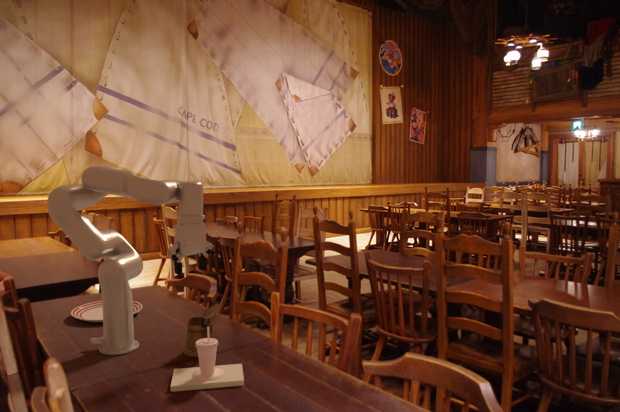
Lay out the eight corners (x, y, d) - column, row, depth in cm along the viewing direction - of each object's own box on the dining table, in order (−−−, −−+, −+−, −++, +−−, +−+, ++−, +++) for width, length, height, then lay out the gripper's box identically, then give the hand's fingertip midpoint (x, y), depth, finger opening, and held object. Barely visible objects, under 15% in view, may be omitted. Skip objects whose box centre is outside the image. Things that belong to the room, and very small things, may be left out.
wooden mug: (207, 362, 159) (206, 306, 158) (178, 353, 167) (177, 299, 165) (227, 353, 166) (226, 299, 165) (199, 345, 174) (197, 293, 173)
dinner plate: (156, 312, 214) (156, 304, 214) (100, 330, 191) (99, 322, 191) (114, 303, 228) (113, 296, 228) (56, 319, 205) (56, 311, 205)
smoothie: (213, 379, 143) (212, 331, 141) (192, 377, 144) (191, 330, 142) (222, 370, 149) (221, 323, 148) (201, 368, 150) (200, 322, 149)
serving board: (170, 391, 139) (170, 386, 139) (174, 373, 151) (174, 368, 150) (244, 385, 142) (243, 379, 142) (242, 368, 154) (241, 363, 154)
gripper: (204, 216, 173) (204, 266, 174) (161, 220, 159) (161, 274, 161) (219, 218, 168) (218, 269, 169) (175, 223, 155) (175, 278, 156)
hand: (190, 271), depth 165 cm, fingers open, 9 cm apart
